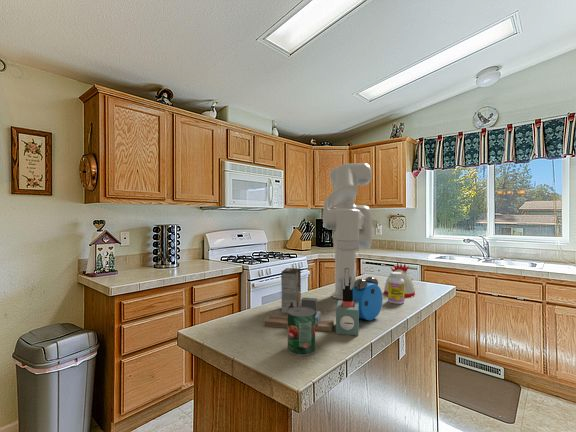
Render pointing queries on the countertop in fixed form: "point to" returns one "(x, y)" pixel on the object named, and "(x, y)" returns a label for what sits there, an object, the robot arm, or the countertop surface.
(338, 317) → the cabinet
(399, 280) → the supplement bottle
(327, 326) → the rail plank
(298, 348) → the canned tomato
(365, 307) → the alarm clock
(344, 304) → the plunger
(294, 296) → the coffee box
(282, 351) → the countertop surface
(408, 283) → the kitchen timer
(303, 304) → the carriage
